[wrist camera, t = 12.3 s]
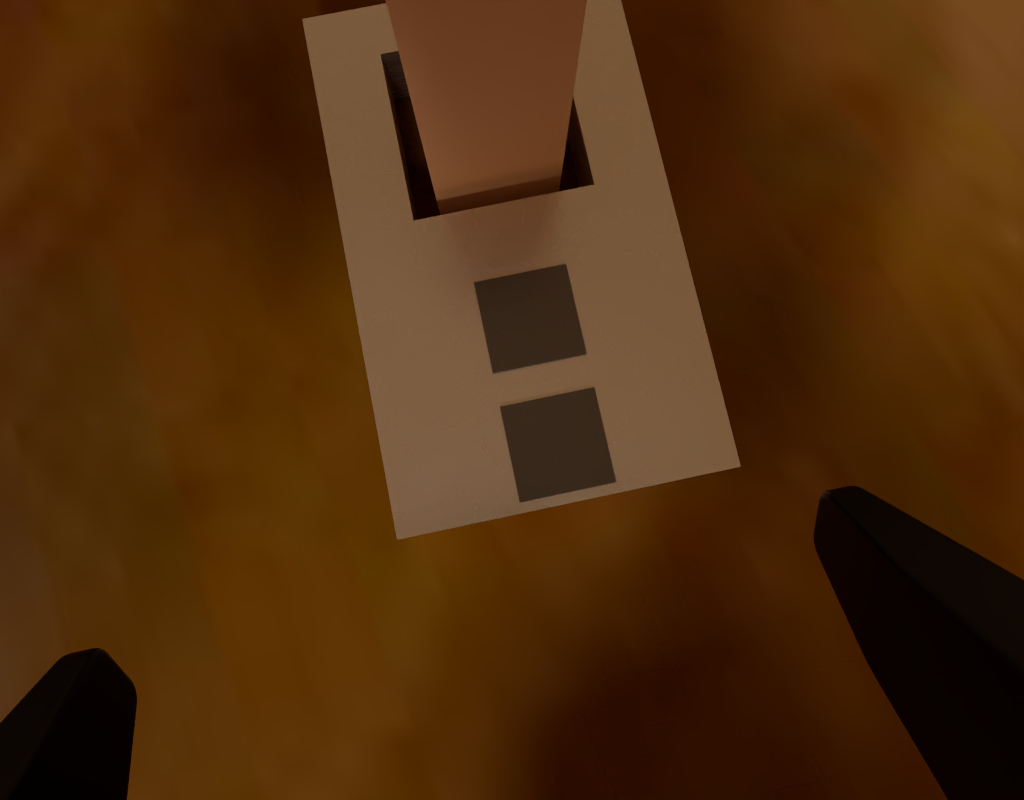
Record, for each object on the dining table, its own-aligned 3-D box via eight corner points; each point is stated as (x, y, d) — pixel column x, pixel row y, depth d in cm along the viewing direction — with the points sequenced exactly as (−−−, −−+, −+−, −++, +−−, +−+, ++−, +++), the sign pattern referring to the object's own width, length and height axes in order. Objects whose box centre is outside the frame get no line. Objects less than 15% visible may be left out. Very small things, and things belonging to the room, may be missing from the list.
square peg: (559, 202, 24) (623, -219, 10) (441, 225, 24) (339, -167, 10) (534, 93, 24) (561, -449, 10) (418, 115, 24) (292, -402, 10)
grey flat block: (715, 470, 22) (742, 466, 20) (410, 535, 22) (396, 539, 20) (600, 14, 25) (611, -43, 22) (323, 67, 24) (301, 16, 22)
